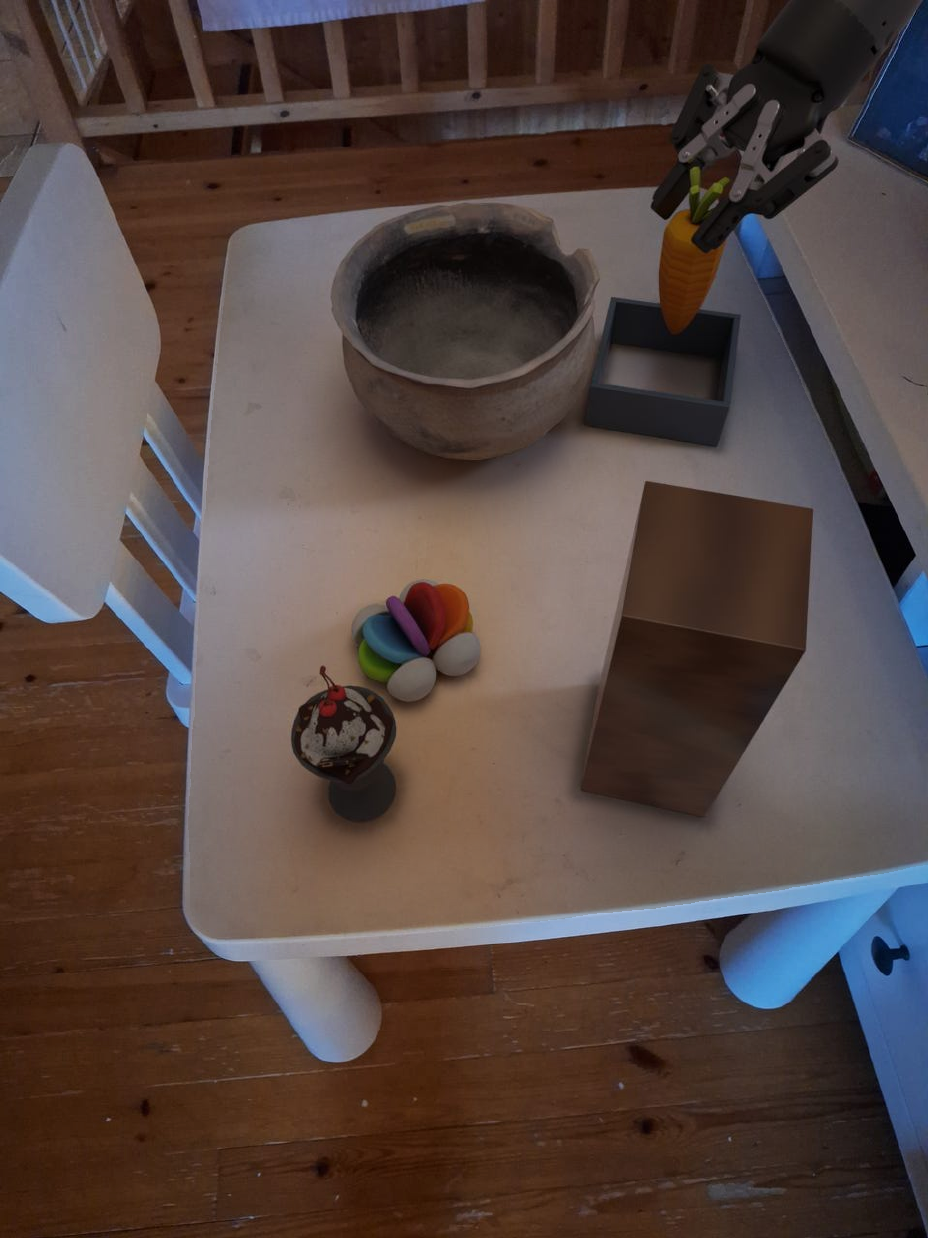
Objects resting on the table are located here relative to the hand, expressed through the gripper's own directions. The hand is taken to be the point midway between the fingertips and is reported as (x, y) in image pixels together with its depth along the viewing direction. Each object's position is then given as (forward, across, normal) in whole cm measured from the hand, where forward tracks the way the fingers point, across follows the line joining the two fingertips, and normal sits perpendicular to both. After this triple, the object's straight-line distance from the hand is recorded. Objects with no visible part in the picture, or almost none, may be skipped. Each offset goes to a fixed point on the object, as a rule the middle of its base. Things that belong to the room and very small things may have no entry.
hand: (678, 229), depth 71 cm
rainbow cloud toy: (+36, +12, -10) cm, 39 cm away
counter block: (+28, +29, -3) cm, 40 cm away
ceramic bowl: (+24, -7, +2) cm, 25 cm away
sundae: (+42, +20, -17) cm, 50 cm away
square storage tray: (+12, 0, +14) cm, 18 cm away
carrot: (+7, 0, +9) cm, 11 cm away
